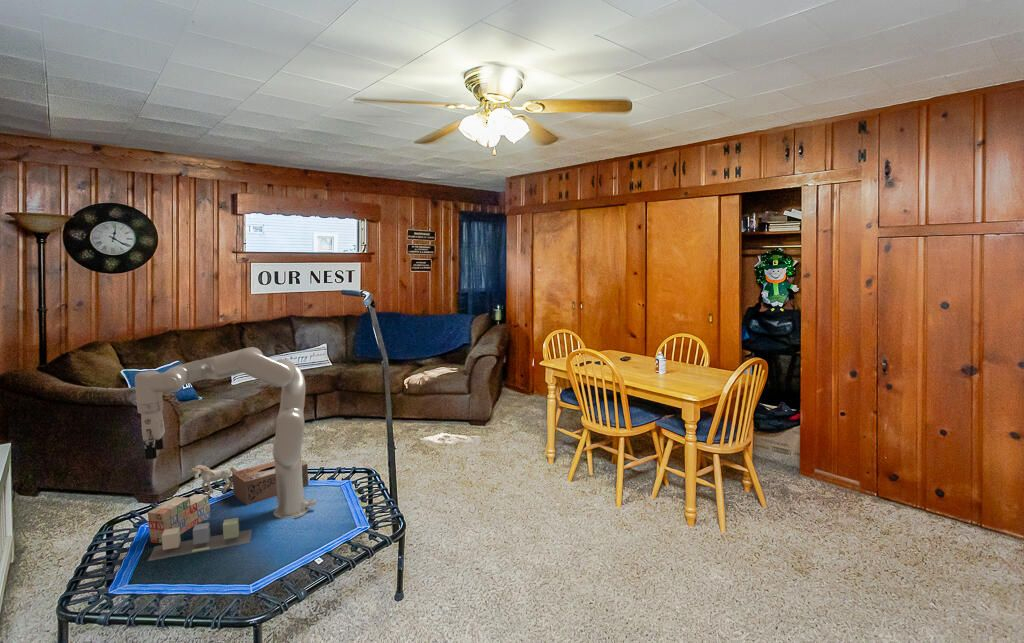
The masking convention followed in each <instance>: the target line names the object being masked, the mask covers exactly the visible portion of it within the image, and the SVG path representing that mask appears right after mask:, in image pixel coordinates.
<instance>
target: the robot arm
mask: <svg viewBox="0 0 1024 643" xmlns="http://www.w3.org/2000/svg"><path fill="white" fill-rule="evenodd" d="M239 374H245V375H247V376H249V377H252V378H254V379H255V380H259V381H260V382H264V383H266V384H268V385H271V386H274V387H277V388H281V395H280V405H279V411H278V415H277V419H276V426H275V433H274V434H275V435H274V442H273V447H272V457H273V460H274V461H275V475H276V492H277V496H276V504H277V506H276V507H277V508H276V509H275V510H273V516H274V517H276V518H281V519H288V518H293V519H297V518H300V517H303V516H304V515H306V514H307V513H308V511H309V507H315V506H317V500H316V499H315V500H313V498H309V499H305V496H304V487H303V480H302V462H303V460H302V447H303V439H304V431H305V416H304V415H305V414H304V412H305V410H304V409H305V403H306V402H305V401H306V400H305V398H306V381H305V380H306V379H305V376H304V374H303V372H302V370H301V369H300V368H299V366H297V365H296V364H295V363H294V362H292V361H290V360H288V359H286V358H285V359H284V358H282V359H277V360H274V359H272V358H269V357H267V356H265V355H264V354H263V352H262V351H261V350H260V349H259V348H257V347H255V346H251V347H246V348H241V349H238V350H234V351H230V352H227V353H222V354H219V355H214V356H212V357H207V358H203V359H198V360H193V361H190V362H186V363H183V364H178V365H176V366H171V368H168V369H167V370H166V371H164V372H158V371H157V370H148V371H140V372H137V373H136V374H135V376H134V385H135V386H134V387H135V397H136V408H137V413H138V414H140V418H141V419H140V421H141V422H140V423H141V435H142V441H143V442H144V456H145V460H154V459H157V458H158V455H157V454H158V453H157V451H159V450H164V440H163V439H164V438H163V436H164V434H165V433H166V429H165V428H166V426H165V422H164V421H165V420H164V414H163V410H164V400H163V398H164V397H163V393H176V392H178V391H180V390H181V389H182V388H183V387H184V385H187V384H192V383H195V382H198V381H203V380H210V379H211V380H222V379H226V378H230V377H232V376H236V375H239Z"/></svg>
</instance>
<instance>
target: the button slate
mask: <svg viewBox="0 0 1024 643" xmlns="http://www.w3.org/2000/svg"><path fill="white" fill-rule="evenodd" d="M210 525H211V524H210V522H203V523H202V522H201V523H198V524H196V525H195V526H193V527H192V540H193V541H194V545H195V544H200V543H206V542H209V539H210V537H211V526H210Z"/></svg>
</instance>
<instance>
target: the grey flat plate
mask: <svg viewBox="0 0 1024 643" xmlns="http://www.w3.org/2000/svg"><path fill="white" fill-rule="evenodd" d="M252 532H253V529H247V530H242V531H240V530H239V535H238V537H234V538H229V539H224V536H223V534H218V535H213V536H212V535H210V539H209V542H206V543H200V544H195V545H194V541H193V539H190V540H183V541H182V540H181V542H180V544H179V547H178V548H172V549H166V550H163V546H162V544H161V545H160V544H159V545H155V546H154V548H153V549H152V551H151V554H150V555H149V557H148V559H147V562H150V561H157V560H162V559H167V558H172V557H173V558H174V557H179V556H184V555H189V554H195V553H200V552H206V551H212V550H218V549H222V548H229V547H234V546H239V545H245V544H246V545H247V544H250V543H251V538H252Z"/></svg>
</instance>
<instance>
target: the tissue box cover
mask: <svg viewBox="0 0 1024 643" xmlns="http://www.w3.org/2000/svg"><path fill="white" fill-rule="evenodd" d="M231 477H232V478H233V482H232V484H233V487H232V488H233V489H232V490H233V491H232V492H233V495H234V497H236V498H237V499H238V500H240V501H241V502H242V503H243V504H245V505H246V506H248V505H253V504H256V503H258V502H262V501H265V500H268V499H271V498H274V497H277V492H276V475H275V460H274V461H269V462H266V463H263V464H262V463H261V464H260V465H254V466H251V467H247V468H244V469H241V470H240V469H239V470H237V471H236V472H232V471H231ZM232 478H231V479H232ZM302 480H303V488H306V487H309V473H308V463H306V462H304V461H302Z"/></svg>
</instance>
